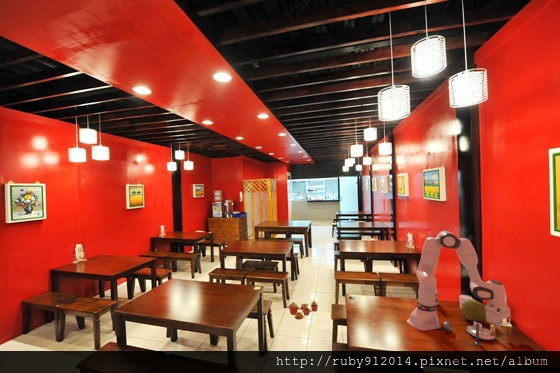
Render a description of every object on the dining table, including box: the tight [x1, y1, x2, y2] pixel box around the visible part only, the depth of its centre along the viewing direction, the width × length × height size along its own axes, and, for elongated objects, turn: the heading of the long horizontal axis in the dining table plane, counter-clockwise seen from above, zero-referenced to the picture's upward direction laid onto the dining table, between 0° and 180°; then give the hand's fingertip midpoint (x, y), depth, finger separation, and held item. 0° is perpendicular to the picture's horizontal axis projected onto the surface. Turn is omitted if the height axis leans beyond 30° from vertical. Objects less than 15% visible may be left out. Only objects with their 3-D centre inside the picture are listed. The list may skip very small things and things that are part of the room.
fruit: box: [460, 300, 487, 322], centre depth 186 cm, size 16×14×15 cm
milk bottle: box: [435, 287, 439, 306], centre depth 214 cm, size 8×8×20 cm
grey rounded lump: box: [440, 320, 454, 334], centre depth 174 cm, size 6×6×5 cm
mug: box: [459, 294, 477, 309], centre depth 202 cm, size 12×8×10 cm
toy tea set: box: [287, 300, 318, 320], centre depth 206 cm, size 26×16×10 cm, turn 128°
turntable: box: [466, 324, 496, 341], centre depth 168 cm, size 15×15×7 cm
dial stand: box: [473, 321, 483, 347], centre depth 159 cm, size 4×4×13 cm
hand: (498, 326), depth 167 cm, fingers closed
